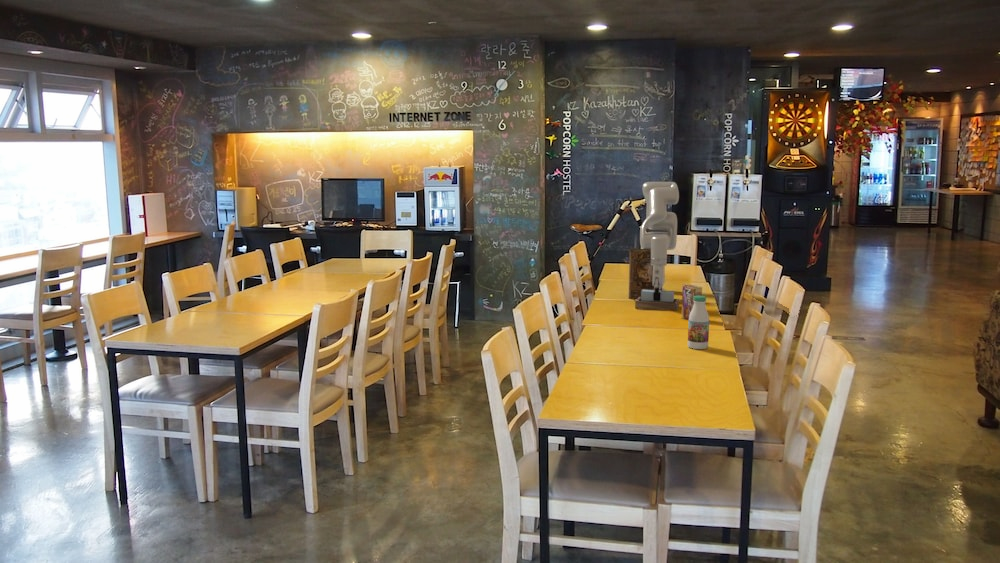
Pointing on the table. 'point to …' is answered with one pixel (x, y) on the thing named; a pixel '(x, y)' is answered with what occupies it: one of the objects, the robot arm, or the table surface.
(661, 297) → the grey rectangular block
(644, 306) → the frame
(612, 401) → the table surface
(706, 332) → the milk bottle
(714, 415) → the table surface
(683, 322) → the table surface
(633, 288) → the book
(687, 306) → the candy box
